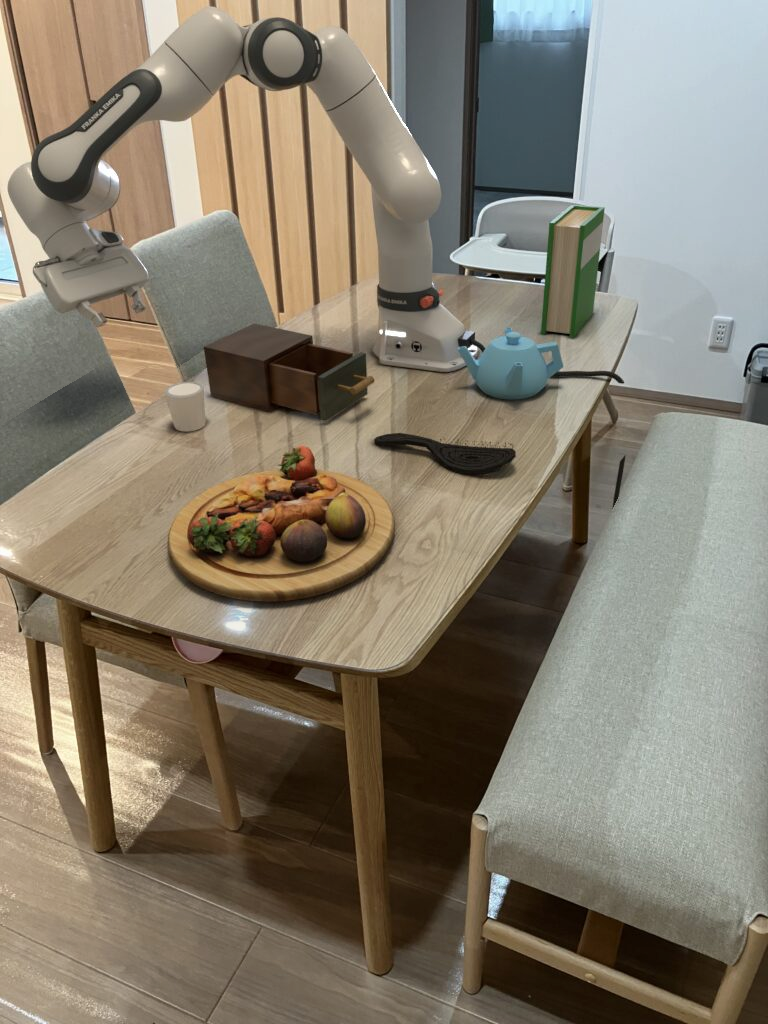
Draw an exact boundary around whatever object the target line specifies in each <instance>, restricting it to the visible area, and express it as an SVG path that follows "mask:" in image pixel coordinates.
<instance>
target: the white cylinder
mask: <svg viewBox="0 0 768 1024" xmlns="http://www.w3.org/2000/svg"><path fill="white" fill-rule="evenodd" d="M164 396H165V398H166V401H167V407H168V409H169V413H170V416H171V419H172V424H173V427H174V429H176V430H177V431H179V432H195V431H199V430H201V429H203V428H204V427H205V426H206V423H207V419H206V405H205V404H206V403H205V386H204V385H203V384H202V383H200V382H196V381H182V382H177V383H174V384H171V385H169V386H167V387H166V388H165V389H164Z"/></svg>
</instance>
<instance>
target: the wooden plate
mask: <svg viewBox="0 0 768 1024" xmlns="http://www.w3.org/2000/svg"><path fill="white" fill-rule="evenodd" d="M315 464H316V458H315V455H314V453H313V451H312V450H311V449H310V448H309V447H308V446H306V445H299V446H296V447H293V448H292V451H291V452H290V453H289V452H286V451H284V453H283V457H282V459H281V464H277V466H279V467H281V468H279V469H270V470H264V471H258V472H253V473H248V474H244V475H240V476H237V477H235V478H231V479H228V480H227V481H224V482H221V483H219V484H216V485H214V486H212V487H210V488H208V489H206V490H204V491H202V492H201V493H200V494H198V495H197V496H195V497H194V498H193V499H192V500H191V501H189V502H188V503H187V504H186V505H185V506H184V507H183V508H182V509H181V510H180V511H179V513H177V515H176V516H175V518H174V519H173V521H172V522H171V525H170V528H169V531H168V535H167V548H168V552H169V557H170V559H171V562H172V563H173V565H174V566H175V568H176V569H177V570H178V571H179V572H180V573H181V575H183V576H184V577H185V578H186V579H187V580H189V581H190V582H191V583H193V584H194V585H196V586H198V587H200V588H201V589H203V590H206V591H208V592H212V593H214V594H216V595H219V596H223V597H226V598H231V599H236V600H243V601H251V602H286V601H293V600H301V599H305V598H311V597H315V596H319V595H322V594H326V593H330V592H331V591H335V590H337V589H340V588H342V587H345V586H347V585H348V584H350V583H352V582H354V581H356V580H358V579H359V578H361V577H363V576H364V575H366V574H367V573H368V572H369V571H371V570H372V569H373V568H374V567H375V566H376V565H377V564H378V563H379V562H381V560H382V559H383V558H384V556H385V555H386V553H387V551H388V550H389V549H390V546H391V545H392V542H393V539H394V536H395V528H396V523H395V517H394V513H393V511H392V509H391V507H390V505H389V503H388V502H387V500H386V499H385V498H384V496H383V495H381V494H380V492H378V491H377V490H376V489H375V488H373V487H372V486H370V485H369V484H367V483H365V482H363V481H362V480H359V479H358V478H357V479H356V478H355V477H352V476H348V475H345V474H342V473H339V472H335V471H330V470H324V469H316V465H315Z"/></svg>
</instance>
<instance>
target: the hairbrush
mask: <svg viewBox="0 0 768 1024" xmlns="http://www.w3.org/2000/svg"><path fill="white" fill-rule="evenodd" d="M443 440H444V441H445V440H446V439H445V438H443ZM454 440H455V438H453V441H454ZM459 440H460V439H459V438H458V439H457V440H456V444H454V443H453V442H452V441H450V442H447V443H445V442H441V441H442V439H441V438H440V439H439V441H438V440H434V439H432V438H429V437H424V436H420V435H416V434H409V433H403V432H396V433H395V432H394V433H386V434H385V433H384V434H382V435H379V436H376V437H374V438H373V441H374V444H375V445H377V446H380V447H381V446H405V445H407V446H415V447H420V448H426V449H427V450H428V451H429V452H430V453H431V454H432V455H433V456H434V458H435V459H436V460H437V461H438V462H439V463H440V464H441V465H442V466H443V467H445V468H446V469H448V470H450V471H452V472H453V473H458V474H462V475H483V474H486V473H488V472H489V473H490V472H493V471H497V470H500V469H501V468H503V467H505V466H507V465H508V464H510V463H512V461H513V460H514V459H515V458H516V457H517V455H516V454H517V450H515V449H514V448H513V447H514V443H509V445H510V446H511V447H510V446H509V445H508V447H507V442H504V446H503V447H501V445H498V447H495V446H492V444H491V443H492V442H491V441H489V444H487V446H485V444H486V443H487V441H485V442H484V441H480V443H482V444H481V446H480V443H478V441H476V444H477V443H478V445H477V446H476V444H475V440H474V441H473V445H472V446H471V445H467V443H468V442H469V440H466V443H464V442H460V443H459ZM499 443H500V442H497V444H499ZM463 444H464V445H463Z"/></svg>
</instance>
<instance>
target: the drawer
mask: <svg viewBox="0 0 768 1024" xmlns="http://www.w3.org/2000/svg"><path fill="white" fill-rule="evenodd" d="M267 370H268V379H269V388H270V397H271V403H273V404H277V405H280V406H279V407H284V408H288V409H291V410H296V411H299V412H303V413H307V414H311V415H315V416H318V415H320V420H321V421H324V422H328V421H329V420H330V419H332V418H333V417H335V416H337V415H338V414H340V413H341V412H342V411H344V410H346V409H347V408H349V407H350V406H352V405H353V404H355V403H356V402H358V401H359V400H361V399H363V398H364V397H366V396H367V395H368V394H369V393H368V387H370V386H371V385H372V384H374V383H375V378H374V376H372V375H368V369H367V353H366V352H363V351H359V352H357V353H356V354H355V355H354V353H353V352H350V351H345V350H341V349H337V348H333V347H327V346H323V345H319V344H314V343H313V344H309V343H305V344H303V345H301V346H299V347H298V348H296V349H294V350H292V351H290V352H288V353H286V354H284V355H282V356H280V357H278V358H277V359H275V360H273V361H271V362H269V363H267Z"/></svg>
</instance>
